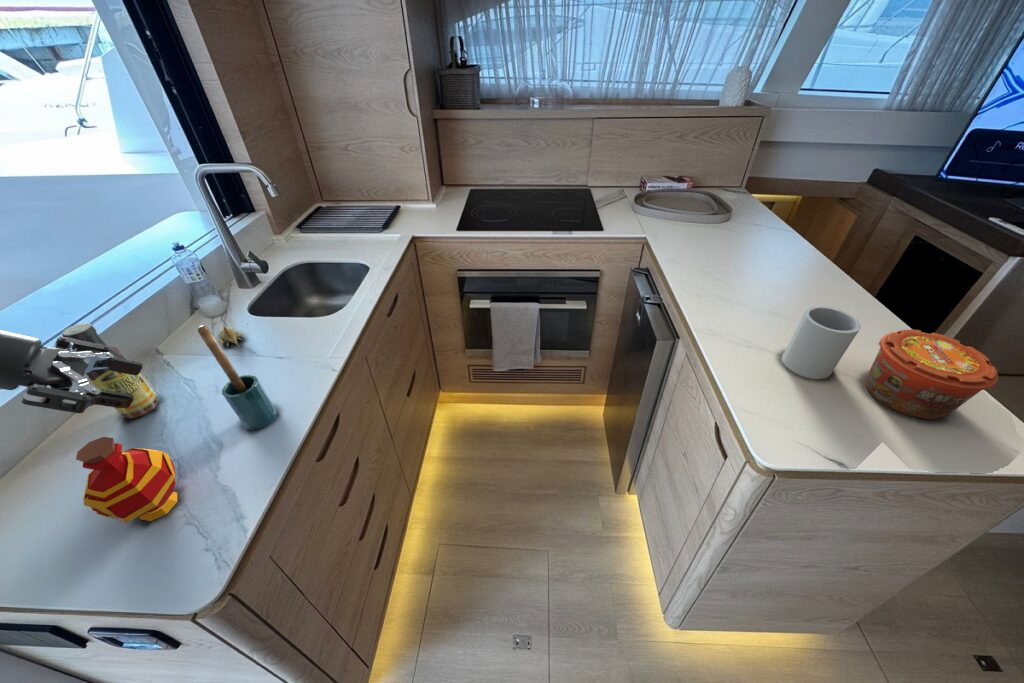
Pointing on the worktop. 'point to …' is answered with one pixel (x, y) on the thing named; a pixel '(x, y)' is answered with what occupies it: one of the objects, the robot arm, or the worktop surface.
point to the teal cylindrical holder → (250, 403)
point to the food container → (927, 374)
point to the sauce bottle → (115, 375)
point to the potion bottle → (127, 481)
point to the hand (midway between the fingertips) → (136, 384)
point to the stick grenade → (222, 359)
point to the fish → (229, 336)
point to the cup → (820, 342)
